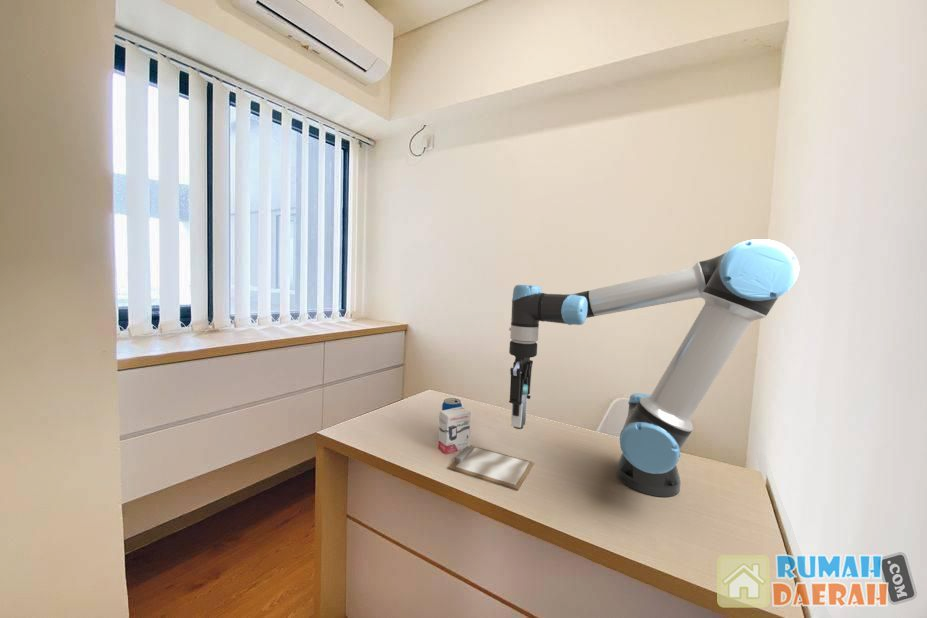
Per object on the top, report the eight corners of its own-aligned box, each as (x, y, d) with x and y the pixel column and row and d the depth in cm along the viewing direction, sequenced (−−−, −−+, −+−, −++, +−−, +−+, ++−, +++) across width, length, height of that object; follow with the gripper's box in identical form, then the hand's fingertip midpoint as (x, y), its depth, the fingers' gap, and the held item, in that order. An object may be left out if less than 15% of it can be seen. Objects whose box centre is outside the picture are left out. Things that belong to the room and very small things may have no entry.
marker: (527, 426, 99) (529, 384, 98) (522, 431, 96) (525, 388, 95) (511, 422, 101) (514, 381, 100) (507, 427, 98) (509, 385, 97)
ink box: (446, 455, 104) (447, 416, 103) (437, 448, 108) (439, 410, 107) (469, 448, 108) (471, 411, 108) (460, 441, 113) (462, 406, 112)
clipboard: (533, 463, 101) (534, 458, 100) (517, 490, 87) (518, 484, 87) (470, 446, 109) (471, 441, 109) (447, 468, 96) (447, 462, 96)
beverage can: (464, 437, 116) (465, 402, 115) (447, 442, 112) (449, 405, 111) (453, 430, 121) (455, 396, 120) (437, 434, 117) (438, 399, 116)
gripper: (519, 335, 106) (515, 411, 108) (500, 343, 91) (495, 431, 93) (544, 338, 102) (539, 416, 104) (528, 347, 87) (522, 438, 89)
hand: (518, 423), depth 98 cm, fingers closed on marker, 4 cm apart
